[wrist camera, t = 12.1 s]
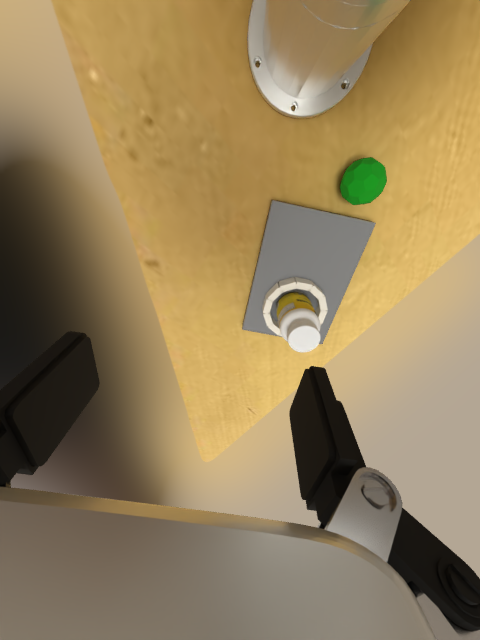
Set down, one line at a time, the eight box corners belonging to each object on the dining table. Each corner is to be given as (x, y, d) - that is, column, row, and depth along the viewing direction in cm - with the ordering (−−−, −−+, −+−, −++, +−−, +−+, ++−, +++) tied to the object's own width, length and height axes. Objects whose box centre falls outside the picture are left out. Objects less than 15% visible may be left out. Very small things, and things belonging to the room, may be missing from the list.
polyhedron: (327, 190, 32) (338, 192, 28) (353, 150, 30) (370, 146, 26) (356, 210, 33) (372, 215, 29) (384, 173, 31) (404, 173, 27)
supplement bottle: (317, 305, 39) (335, 341, 30) (289, 325, 41) (300, 364, 32) (295, 282, 37) (308, 312, 29) (268, 304, 39) (272, 339, 31)
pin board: (271, 199, 33) (273, 201, 30) (371, 221, 34) (382, 225, 31) (242, 324, 43) (241, 336, 40) (320, 339, 44) (325, 351, 41)
